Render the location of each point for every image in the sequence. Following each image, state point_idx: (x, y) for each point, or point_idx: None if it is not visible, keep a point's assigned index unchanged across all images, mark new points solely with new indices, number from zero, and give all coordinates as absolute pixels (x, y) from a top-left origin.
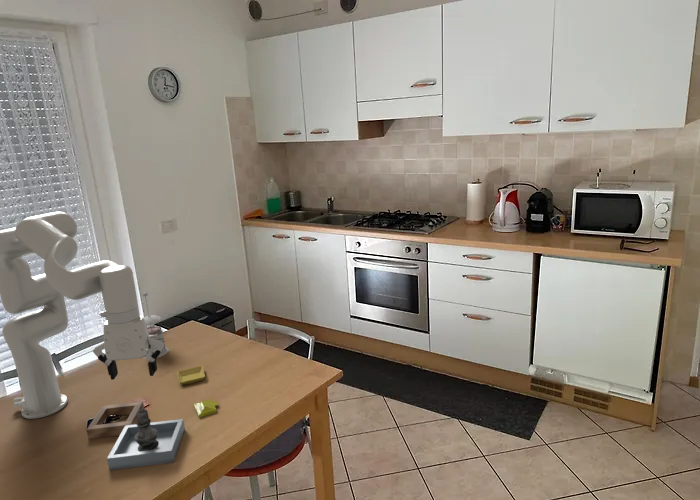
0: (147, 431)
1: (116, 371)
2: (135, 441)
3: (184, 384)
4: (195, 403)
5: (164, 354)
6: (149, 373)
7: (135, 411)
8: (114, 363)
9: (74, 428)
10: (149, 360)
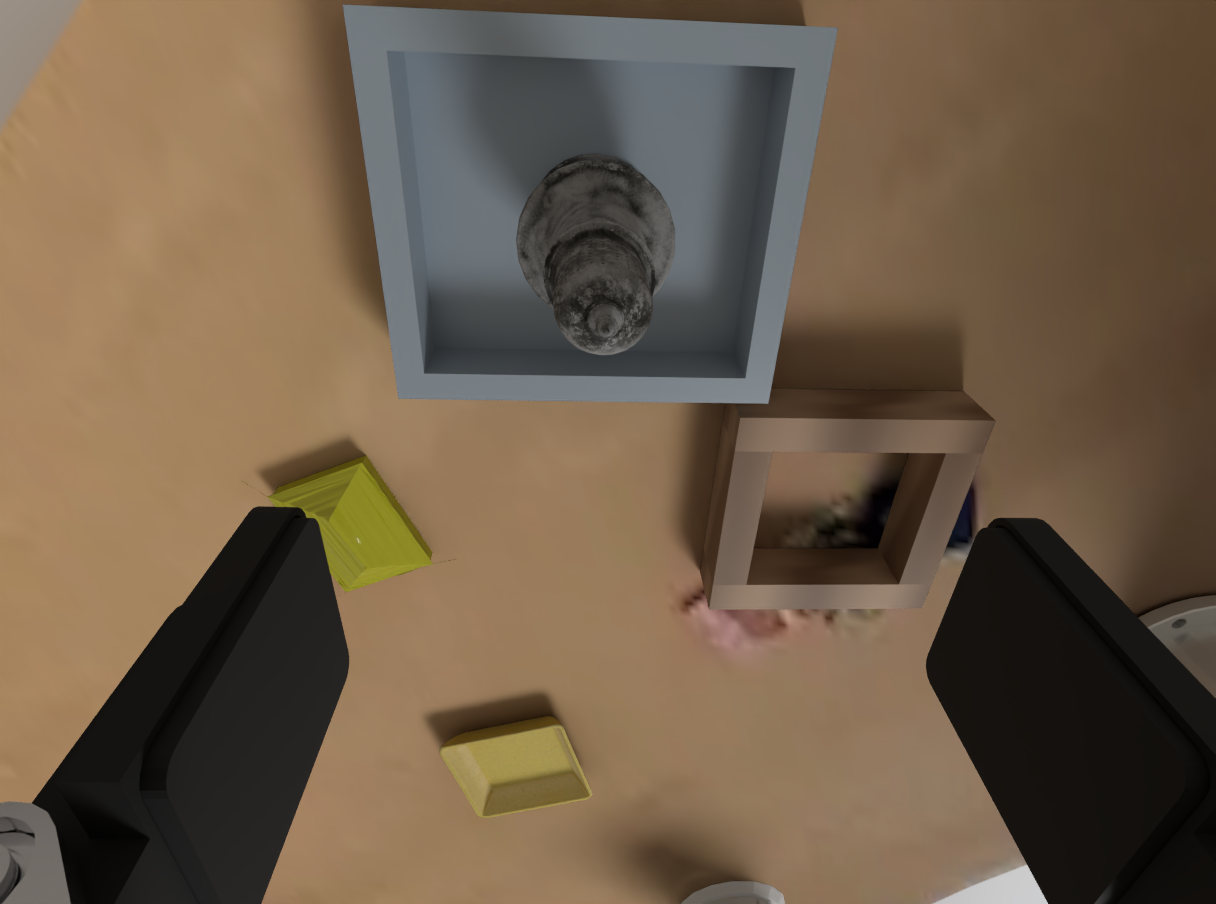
0: (569, 222)
1: (967, 690)
2: (687, 290)
3: (541, 717)
4: (419, 567)
5: (690, 896)
6: (295, 548)
7: (733, 532)
8: (1087, 864)
9: (1039, 492)
10: (41, 867)
